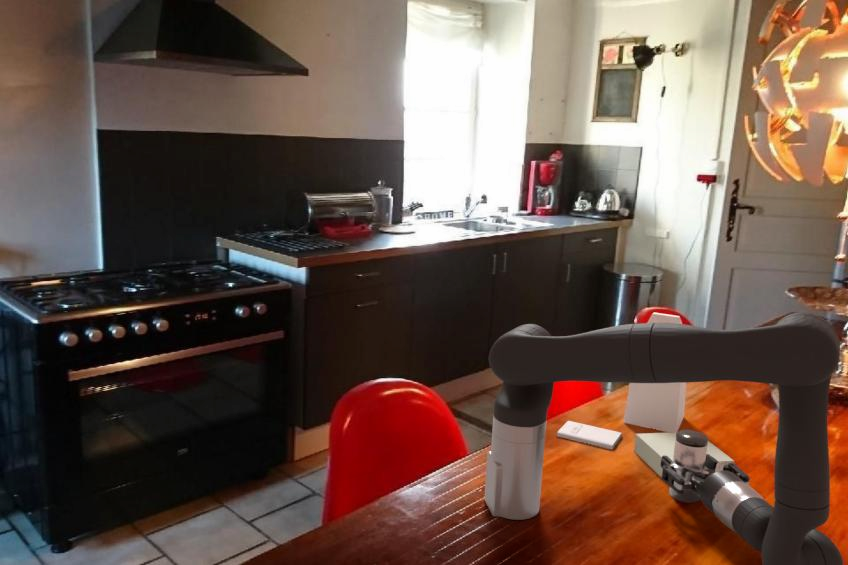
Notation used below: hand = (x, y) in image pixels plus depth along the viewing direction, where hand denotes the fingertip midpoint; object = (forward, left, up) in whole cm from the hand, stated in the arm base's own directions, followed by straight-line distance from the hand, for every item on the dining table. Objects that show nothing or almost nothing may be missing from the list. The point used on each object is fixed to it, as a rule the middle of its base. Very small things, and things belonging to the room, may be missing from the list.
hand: (684, 459), depth 135 cm
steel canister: (0, -2, -7) cm, 7 cm away
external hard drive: (-8, +26, -7) cm, 28 cm away
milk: (+12, +33, -7) cm, 36 cm away
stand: (+6, +10, -7) cm, 14 cm away
